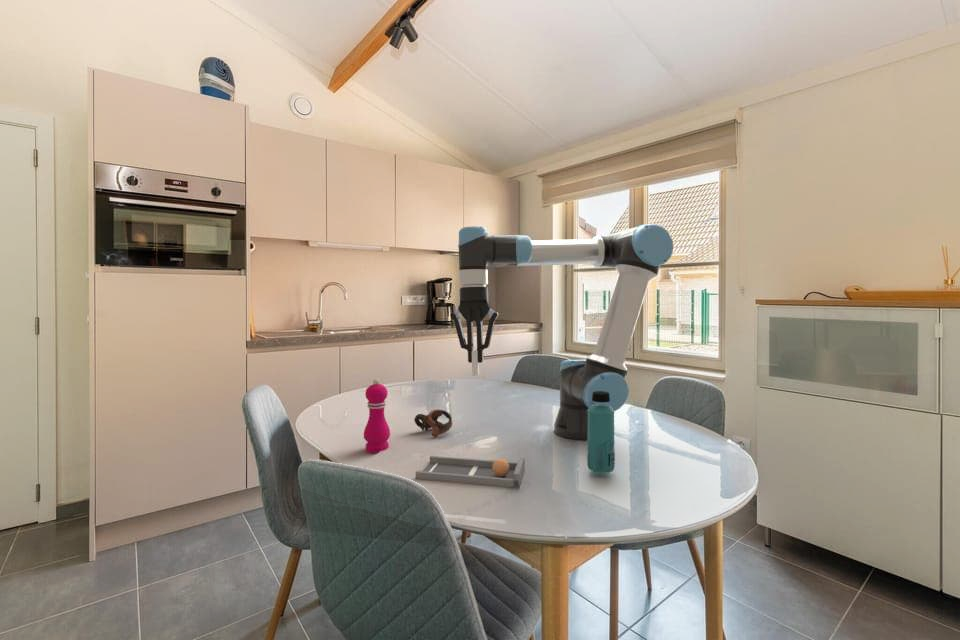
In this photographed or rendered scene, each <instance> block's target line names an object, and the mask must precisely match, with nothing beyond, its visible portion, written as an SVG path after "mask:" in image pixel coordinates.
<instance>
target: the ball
mask: <svg viewBox="0 0 960 640" xmlns="http://www.w3.org/2000/svg"><path fill="white" fill-rule="evenodd" d="M494 461H495V462H494V463H493V466H492V470H493V472H494V474H495V475H497V476H499V477H503V476H505V475H507V474H508V472H509V464H508V462H509V461H508V460H505V459H504V458H498V459H496V460H494Z"/></svg>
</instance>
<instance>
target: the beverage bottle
mask: <svg viewBox="0 0 960 640" xmlns="http://www.w3.org/2000/svg"><path fill="white" fill-rule="evenodd" d="M592 401H595V402H610V396H609V393H608V392H605V391H594V392H593V394H592ZM615 433H616V432H615V411H614V410H613V409H612V408H611V407H610V406H608V405H603V404H595V405H592V406H591V407H590V408H589V409H588V436H587V439H586V443H587V444H586V461H587V462H586V465H587V468H588V469H589V471H591V472H594V473H599V474H608V473H609V474H610V473H612V472H614V469H615V464H616V463H615V460H616V459H615V457H616V455H615Z"/></svg>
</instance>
